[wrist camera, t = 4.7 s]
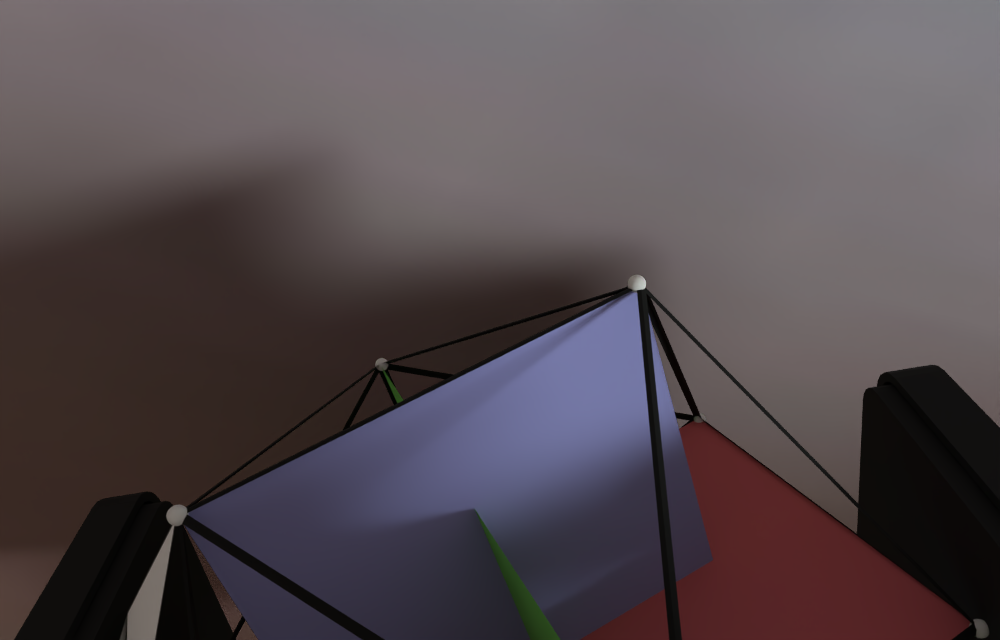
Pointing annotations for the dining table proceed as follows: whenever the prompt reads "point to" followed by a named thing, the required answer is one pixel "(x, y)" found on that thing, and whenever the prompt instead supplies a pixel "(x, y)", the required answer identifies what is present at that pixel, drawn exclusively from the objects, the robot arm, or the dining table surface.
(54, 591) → the robot arm
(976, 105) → the dining table surface
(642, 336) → the geometric puzzle
